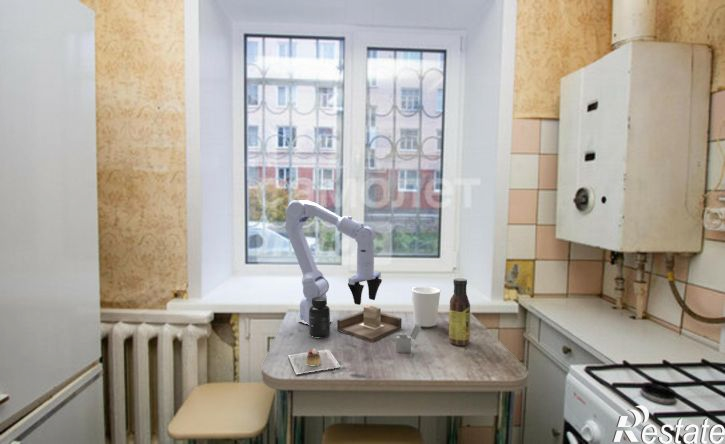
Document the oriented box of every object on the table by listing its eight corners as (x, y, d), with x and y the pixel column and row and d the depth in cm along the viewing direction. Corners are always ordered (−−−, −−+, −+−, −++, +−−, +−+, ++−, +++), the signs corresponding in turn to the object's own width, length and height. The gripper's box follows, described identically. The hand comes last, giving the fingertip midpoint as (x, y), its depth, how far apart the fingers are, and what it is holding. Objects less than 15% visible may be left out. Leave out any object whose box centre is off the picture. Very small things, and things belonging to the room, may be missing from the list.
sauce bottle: (470, 347, 115) (472, 282, 114) (448, 345, 117) (450, 281, 115) (468, 339, 122) (470, 277, 120) (448, 337, 123) (449, 276, 121)
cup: (405, 322, 137) (406, 287, 136) (428, 319, 141) (429, 285, 140) (421, 332, 128) (422, 294, 127) (445, 327, 132) (446, 291, 131)
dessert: (287, 358, 108) (287, 342, 108) (328, 352, 112) (328, 336, 112) (295, 378, 97) (295, 360, 97) (341, 370, 101) (341, 353, 101)
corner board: (337, 330, 129) (337, 320, 129) (368, 318, 141) (368, 309, 141) (371, 341, 119) (371, 330, 119) (401, 328, 131) (401, 318, 131)
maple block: (374, 328, 128) (374, 310, 127) (363, 324, 131) (363, 307, 131) (380, 325, 130) (380, 308, 130) (369, 322, 133) (369, 305, 133)
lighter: (396, 352, 112) (396, 325, 111) (395, 350, 113) (396, 323, 113) (420, 352, 112) (421, 325, 111) (419, 349, 113) (420, 323, 113)
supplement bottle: (304, 334, 125) (304, 298, 124) (321, 329, 130) (321, 294, 129) (316, 340, 120) (316, 302, 119) (334, 334, 125) (334, 298, 124)
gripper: (360, 266, 121) (359, 308, 122) (387, 260, 132) (387, 299, 133) (343, 263, 126) (343, 304, 127) (372, 258, 137) (371, 295, 138)
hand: (364, 301), depth 130 cm, fingers open, 7 cm apart
